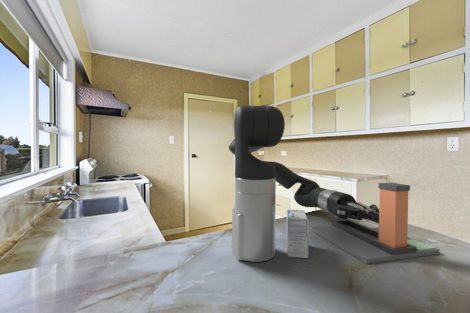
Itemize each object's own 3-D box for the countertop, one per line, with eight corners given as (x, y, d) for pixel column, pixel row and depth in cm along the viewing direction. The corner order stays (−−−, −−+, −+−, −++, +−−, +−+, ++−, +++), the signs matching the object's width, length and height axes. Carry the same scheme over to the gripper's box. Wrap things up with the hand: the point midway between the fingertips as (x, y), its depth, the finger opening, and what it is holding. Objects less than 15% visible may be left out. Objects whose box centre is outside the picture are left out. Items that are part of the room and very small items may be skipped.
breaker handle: (394, 251, 48) (396, 185, 48) (377, 243, 53) (378, 182, 52) (408, 250, 49) (410, 185, 49) (390, 242, 53) (391, 182, 53)
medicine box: (308, 259, 48) (309, 219, 47) (287, 257, 48) (287, 218, 48) (304, 244, 55) (304, 209, 55) (286, 242, 56) (286, 208, 56)
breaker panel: (366, 263, 46) (366, 253, 46) (311, 229, 65) (311, 222, 65) (439, 253, 50) (439, 244, 50) (367, 224, 70) (367, 217, 70)
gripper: (353, 213, 71) (406, 233, 54) (317, 216, 68) (362, 238, 51) (353, 190, 71) (407, 203, 54) (317, 192, 68) (363, 206, 51)
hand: (385, 220), depth 53 cm, fingers closed
